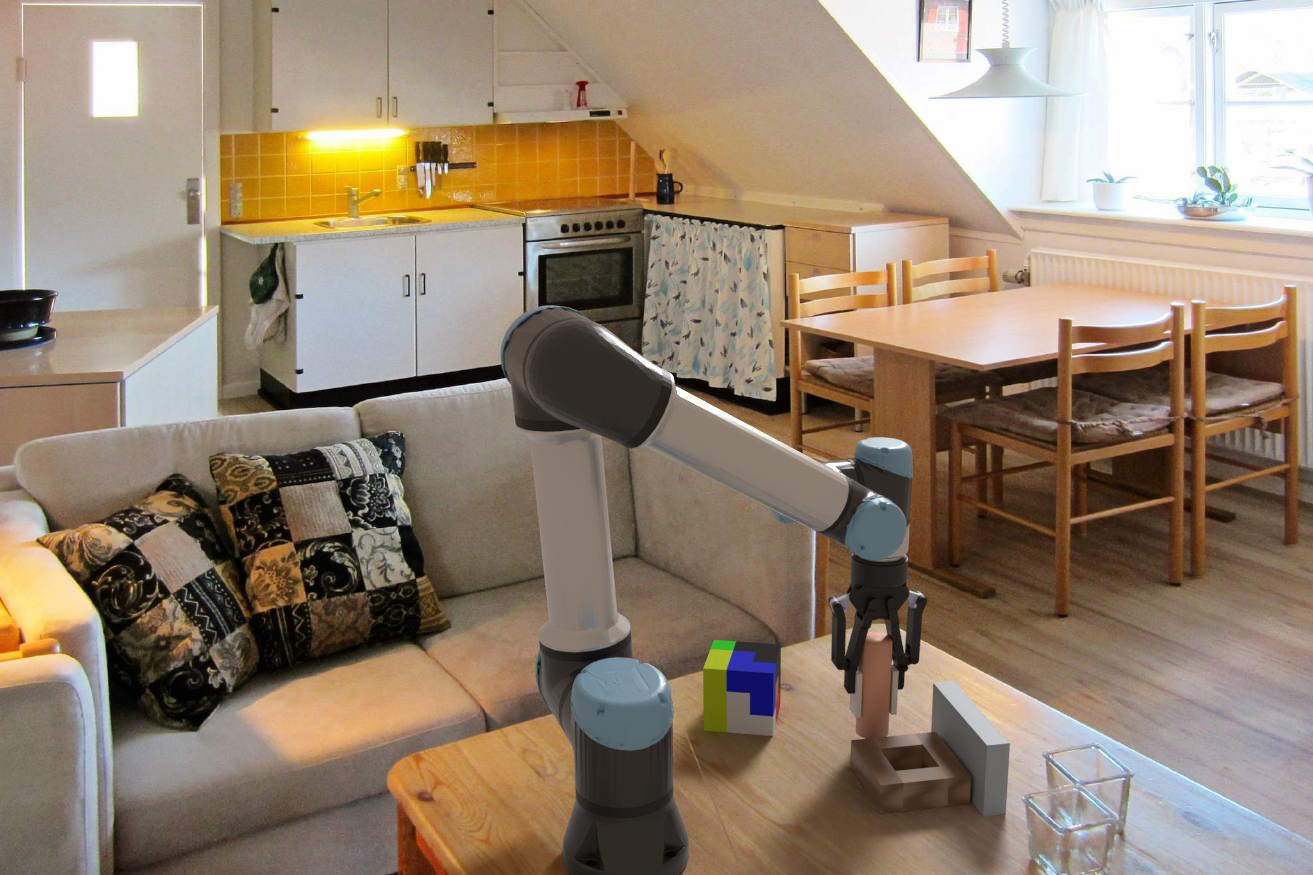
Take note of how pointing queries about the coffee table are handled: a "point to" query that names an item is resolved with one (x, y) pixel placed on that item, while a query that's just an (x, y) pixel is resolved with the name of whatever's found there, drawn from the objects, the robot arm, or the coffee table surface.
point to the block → (909, 772)
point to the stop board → (973, 745)
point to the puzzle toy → (742, 687)
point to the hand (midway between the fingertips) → (872, 711)
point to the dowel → (875, 686)
